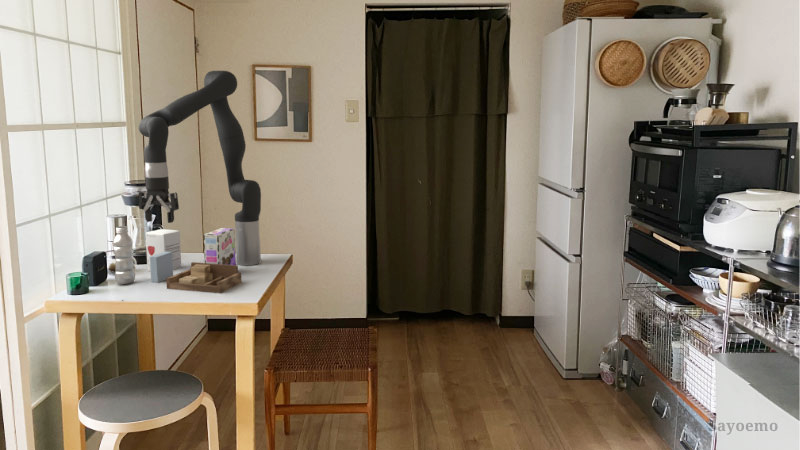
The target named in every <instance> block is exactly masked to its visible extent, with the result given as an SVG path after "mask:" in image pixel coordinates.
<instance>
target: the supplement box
mask: <svg viewBox="0 0 800 450" xmlns="http://www.w3.org/2000/svg"><path fill="white" fill-rule="evenodd" d="M145 247H146V265H147V266H146V267H147V272H151V267H150V257H151V256H154V255H157V254H160V253H163V252H172V263H173V271H175V270H178V269H181V268H182V255H181V249H182V248H181V231H180V230H175V229H167V228H166V229H165V228H160V229H156V230H151V231H146V232H145Z"/></svg>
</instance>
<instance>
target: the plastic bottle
mask: <svg viewBox="0 0 800 450" xmlns="http://www.w3.org/2000/svg"><path fill="white" fill-rule="evenodd" d="M128 230H129V229H128V226H126V225H125V226H124V225H123V226H121V225H120V226H116V227H115V236H114V238H113V239H112V248H113V251H114V258H115V259H114V260H115V271H114V279H115V282H116V283H117V284H118V285H127V284H128V285H129V284H131V283H133V282H135V279H136V272H135V268H134V263H133V262H134V261H133V247H134V246H133V242H134V241H133V239H132V237H131V236H130V235H129V233H128V232H129V231H128Z"/></svg>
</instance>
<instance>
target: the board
mask: <svg viewBox="0 0 800 450" xmlns="http://www.w3.org/2000/svg"><path fill="white" fill-rule="evenodd" d="M150 267H151V271H150V279H151V283H157V284H158V283H161V282H163V281H165V280H166V278H169V277H171V276H174V270H173V263H172V252H163V253H160V254H157V255H154V256H151V257H150Z"/></svg>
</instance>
